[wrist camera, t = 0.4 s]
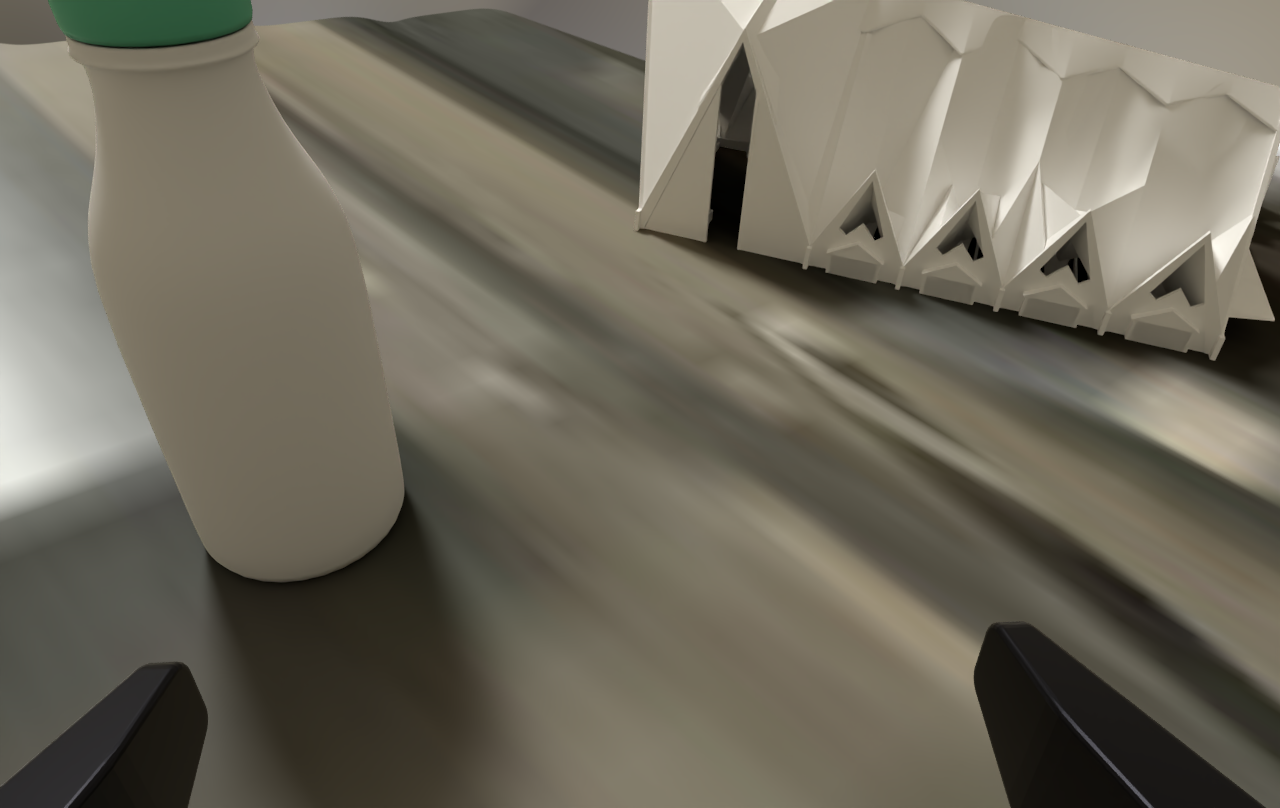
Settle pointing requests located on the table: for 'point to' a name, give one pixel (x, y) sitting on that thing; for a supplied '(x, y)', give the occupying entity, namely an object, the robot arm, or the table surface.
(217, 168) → the milk bottle
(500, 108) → the table surface
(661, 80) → the white faceted model
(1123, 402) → the table surface
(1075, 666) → the robot arm
